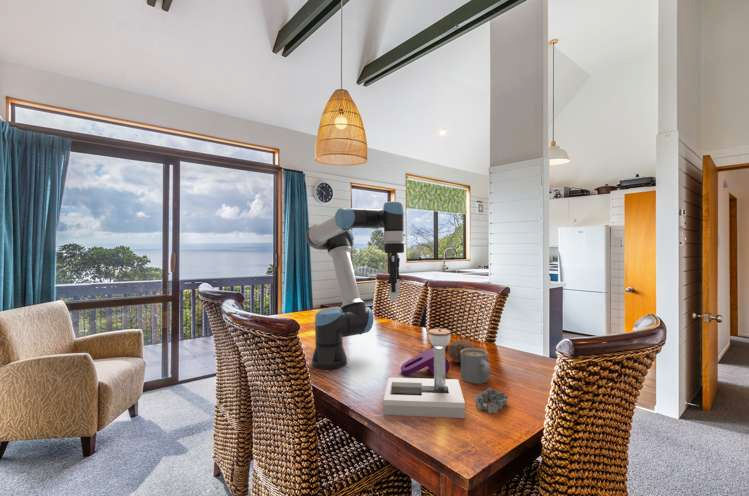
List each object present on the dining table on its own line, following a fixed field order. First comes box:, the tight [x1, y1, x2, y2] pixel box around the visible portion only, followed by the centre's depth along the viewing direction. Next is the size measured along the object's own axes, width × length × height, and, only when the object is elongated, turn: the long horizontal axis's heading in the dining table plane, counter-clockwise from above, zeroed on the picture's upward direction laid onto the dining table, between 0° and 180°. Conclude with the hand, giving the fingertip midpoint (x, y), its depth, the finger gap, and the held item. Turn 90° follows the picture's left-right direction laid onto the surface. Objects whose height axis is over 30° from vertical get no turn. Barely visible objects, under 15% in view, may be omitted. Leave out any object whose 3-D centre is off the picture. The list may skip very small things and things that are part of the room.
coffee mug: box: [460, 347, 491, 384], centre depth 133 cm, size 13×10×10 cm
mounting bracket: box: [400, 345, 451, 376], centre depth 142 cm, size 10×8×18 cm
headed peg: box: [433, 346, 447, 393], centre depth 114 cm, size 8×8×18 cm
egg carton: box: [474, 387, 509, 414], centre depth 112 cm, size 11×8×4 cm
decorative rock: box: [447, 338, 476, 364], centre depth 153 cm, size 13×11×10 cm
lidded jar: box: [428, 327, 452, 349], centre depth 176 cm, size 11×11×9 cm
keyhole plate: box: [383, 377, 466, 419], centre depth 115 cm, size 24×18×4 cm
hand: (394, 298), depth 135 cm, fingers open, 13 cm apart
